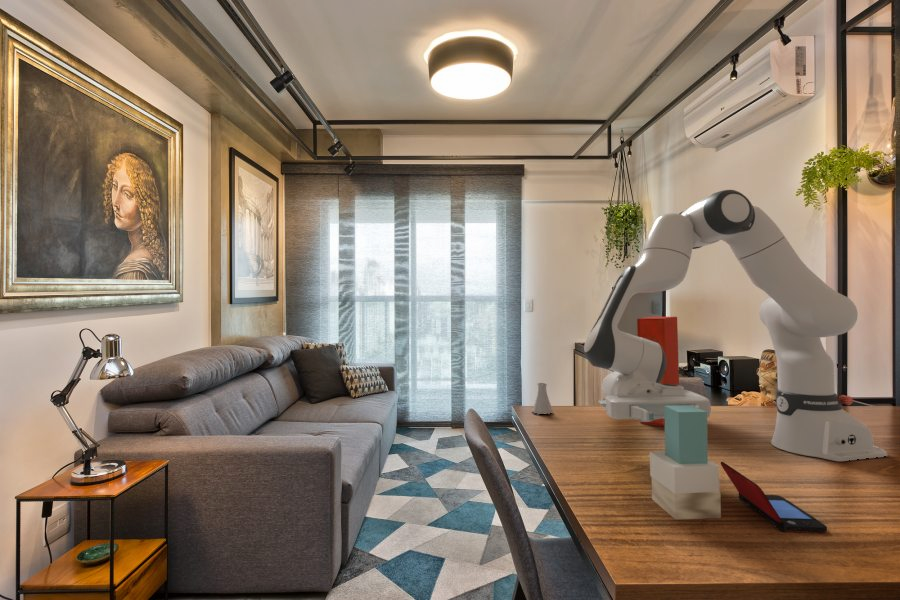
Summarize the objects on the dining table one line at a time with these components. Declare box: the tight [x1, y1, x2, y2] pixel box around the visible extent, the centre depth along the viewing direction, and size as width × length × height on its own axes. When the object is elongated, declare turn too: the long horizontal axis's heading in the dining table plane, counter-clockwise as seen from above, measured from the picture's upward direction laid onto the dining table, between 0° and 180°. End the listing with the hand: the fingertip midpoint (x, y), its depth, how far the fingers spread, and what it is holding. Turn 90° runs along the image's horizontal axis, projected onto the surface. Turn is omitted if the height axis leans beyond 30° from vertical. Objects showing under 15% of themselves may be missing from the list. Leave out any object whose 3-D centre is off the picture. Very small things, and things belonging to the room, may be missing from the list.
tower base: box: [651, 477, 722, 520], centre depth 80 cm, size 8×8×4 cm
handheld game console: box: [720, 461, 828, 534], centre depth 77 cm, size 12×11×7 cm
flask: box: [531, 382, 554, 414], centre depth 150 cm, size 7×7×10 cm
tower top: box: [649, 450, 720, 494], centre depth 80 cm, size 8×8×4 cm
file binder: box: [636, 316, 680, 427], centre depth 140 cm, size 8×17×32 cm, turn 142°
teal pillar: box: [664, 405, 709, 464], centre depth 80 cm, size 5×5×9 cm
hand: (675, 416), depth 84 cm, fingers open, 8 cm apart
